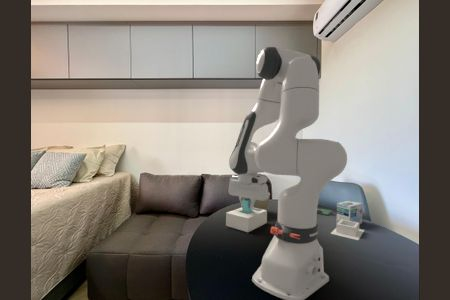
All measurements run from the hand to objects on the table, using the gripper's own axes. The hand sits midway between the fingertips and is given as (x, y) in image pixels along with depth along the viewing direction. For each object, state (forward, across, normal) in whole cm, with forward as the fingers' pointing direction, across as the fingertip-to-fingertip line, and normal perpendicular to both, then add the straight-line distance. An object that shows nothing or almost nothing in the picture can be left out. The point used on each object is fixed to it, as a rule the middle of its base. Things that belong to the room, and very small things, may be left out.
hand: (247, 207), depth 108 cm
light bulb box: (+8, +37, +30) cm, 48 cm away
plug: (+6, 0, 0) cm, 6 cm away
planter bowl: (+8, -7, +18) cm, 21 cm away
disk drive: (+9, +19, +39) cm, 44 cm away
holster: (+8, +39, +17) cm, 43 cm away
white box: (+8, 0, 0) cm, 8 cm away
